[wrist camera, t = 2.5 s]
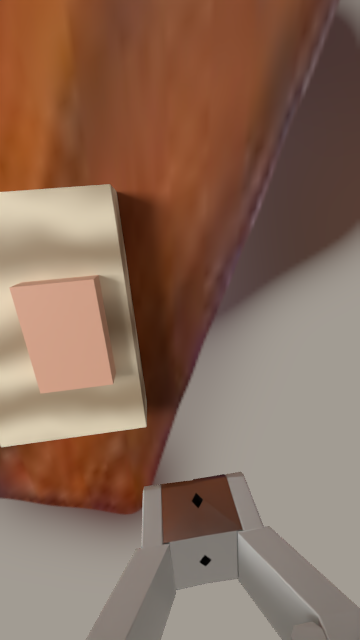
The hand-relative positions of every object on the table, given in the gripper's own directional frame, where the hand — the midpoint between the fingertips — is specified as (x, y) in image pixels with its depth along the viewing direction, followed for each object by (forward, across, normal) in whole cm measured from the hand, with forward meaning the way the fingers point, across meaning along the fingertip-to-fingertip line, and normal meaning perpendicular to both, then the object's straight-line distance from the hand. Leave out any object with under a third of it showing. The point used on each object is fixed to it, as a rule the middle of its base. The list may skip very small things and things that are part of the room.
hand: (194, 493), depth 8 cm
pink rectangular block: (+16, +8, 0) cm, 18 cm away
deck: (+20, +10, 0) cm, 23 cm away
